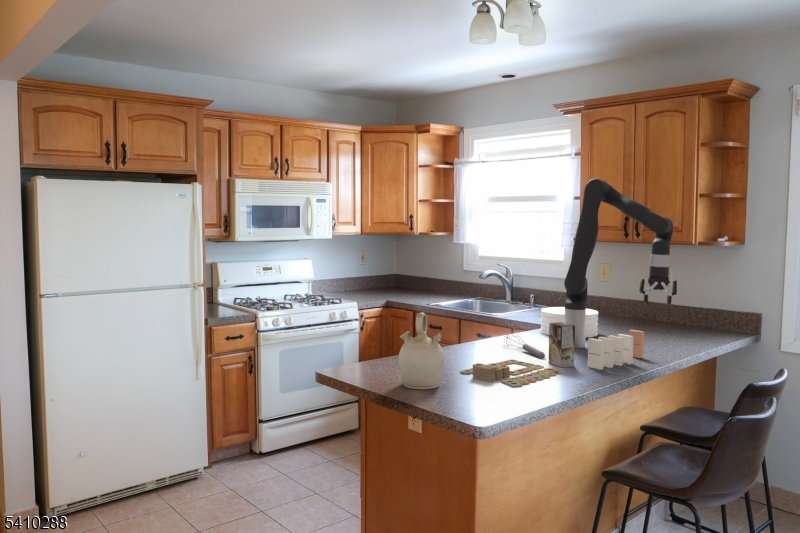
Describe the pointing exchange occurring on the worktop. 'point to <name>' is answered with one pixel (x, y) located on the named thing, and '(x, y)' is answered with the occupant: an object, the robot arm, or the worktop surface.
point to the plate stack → (558, 316)
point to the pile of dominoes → (510, 373)
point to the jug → (421, 358)
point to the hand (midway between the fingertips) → (657, 304)
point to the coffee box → (561, 344)
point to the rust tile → (637, 343)
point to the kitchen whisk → (529, 348)
